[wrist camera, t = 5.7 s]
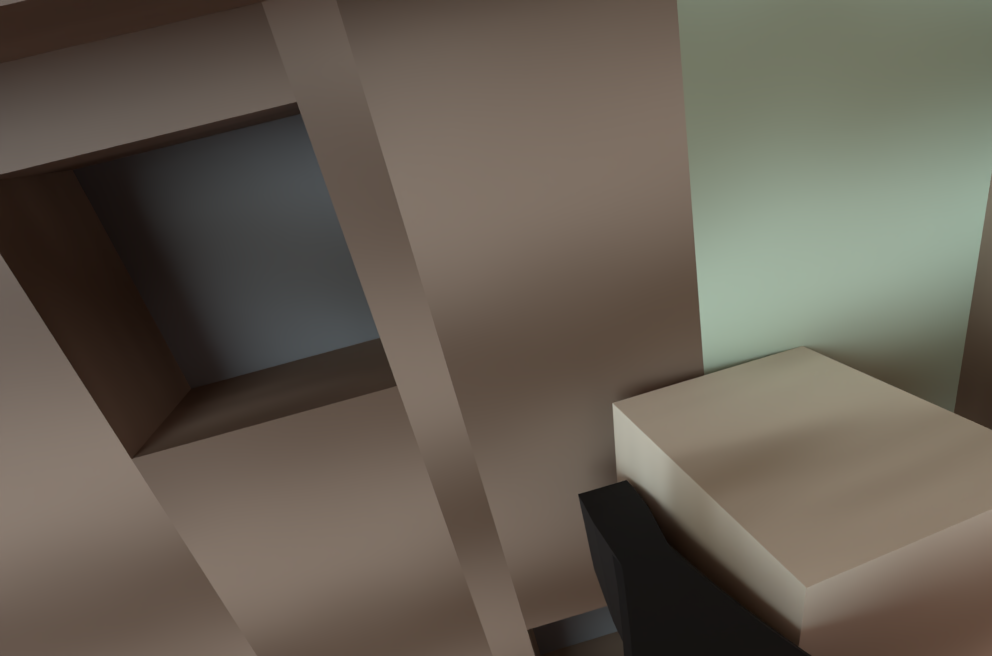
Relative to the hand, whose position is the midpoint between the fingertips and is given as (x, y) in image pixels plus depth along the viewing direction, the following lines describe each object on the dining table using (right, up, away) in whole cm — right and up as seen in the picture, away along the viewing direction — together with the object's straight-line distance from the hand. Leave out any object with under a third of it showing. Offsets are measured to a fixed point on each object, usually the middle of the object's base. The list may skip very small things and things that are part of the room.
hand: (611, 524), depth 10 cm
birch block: (+2, +1, +1) cm, 3 cm away
